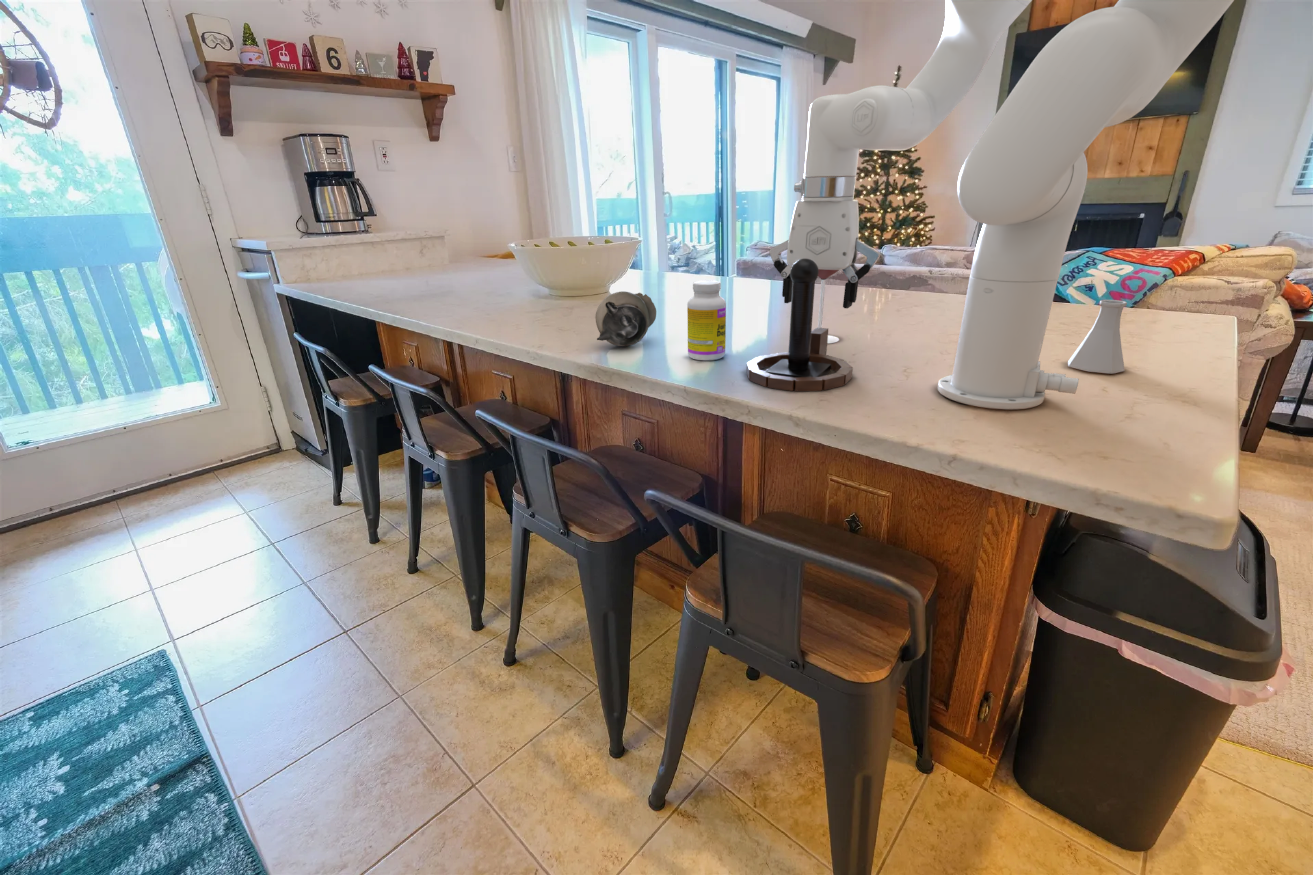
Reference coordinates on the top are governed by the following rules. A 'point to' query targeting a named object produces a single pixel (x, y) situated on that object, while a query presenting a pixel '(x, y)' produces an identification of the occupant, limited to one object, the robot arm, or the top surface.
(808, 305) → the towel holder
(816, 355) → the walnut ring
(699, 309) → the supplement bottle
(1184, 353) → the top surface
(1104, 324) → the flask
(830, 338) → the wineglass
